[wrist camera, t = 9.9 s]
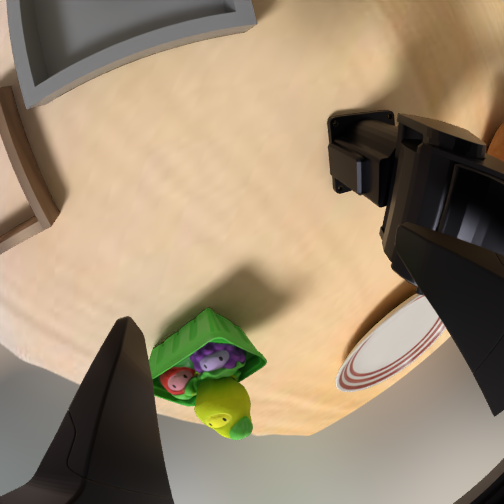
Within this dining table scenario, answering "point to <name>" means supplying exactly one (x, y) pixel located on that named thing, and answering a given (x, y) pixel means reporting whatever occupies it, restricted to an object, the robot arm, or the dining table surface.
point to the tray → (107, 36)
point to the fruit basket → (208, 372)
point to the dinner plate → (391, 345)
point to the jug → (497, 144)
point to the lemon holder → (24, 175)
